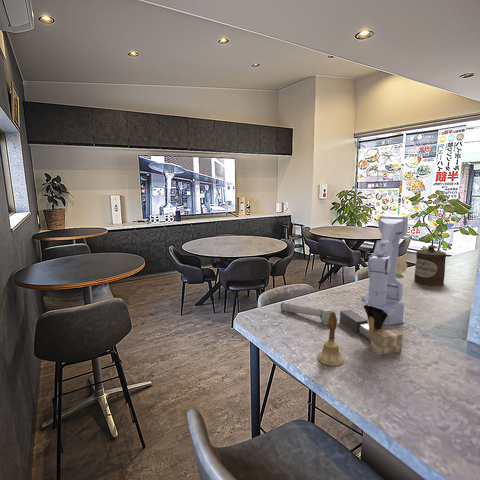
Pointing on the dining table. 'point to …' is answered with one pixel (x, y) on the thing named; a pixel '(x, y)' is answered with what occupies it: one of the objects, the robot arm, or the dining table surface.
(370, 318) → the brown and grey block
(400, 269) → the flower in vase
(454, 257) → the dining table surface
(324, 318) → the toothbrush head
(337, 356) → the hand bell
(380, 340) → the socket block
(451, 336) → the dining table surface
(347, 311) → the sleeve
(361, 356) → the dining table surface
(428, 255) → the wooden container
